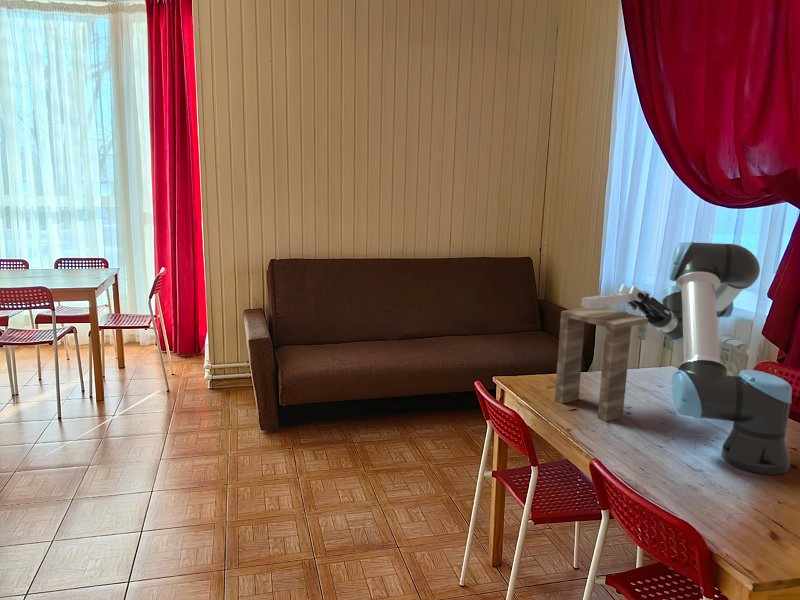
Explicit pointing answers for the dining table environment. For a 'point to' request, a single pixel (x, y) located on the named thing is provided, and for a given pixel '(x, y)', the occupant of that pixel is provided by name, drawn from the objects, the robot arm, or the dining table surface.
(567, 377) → the striped wooden stand
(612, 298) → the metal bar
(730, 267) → the robot arm
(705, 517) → the dining table surface
